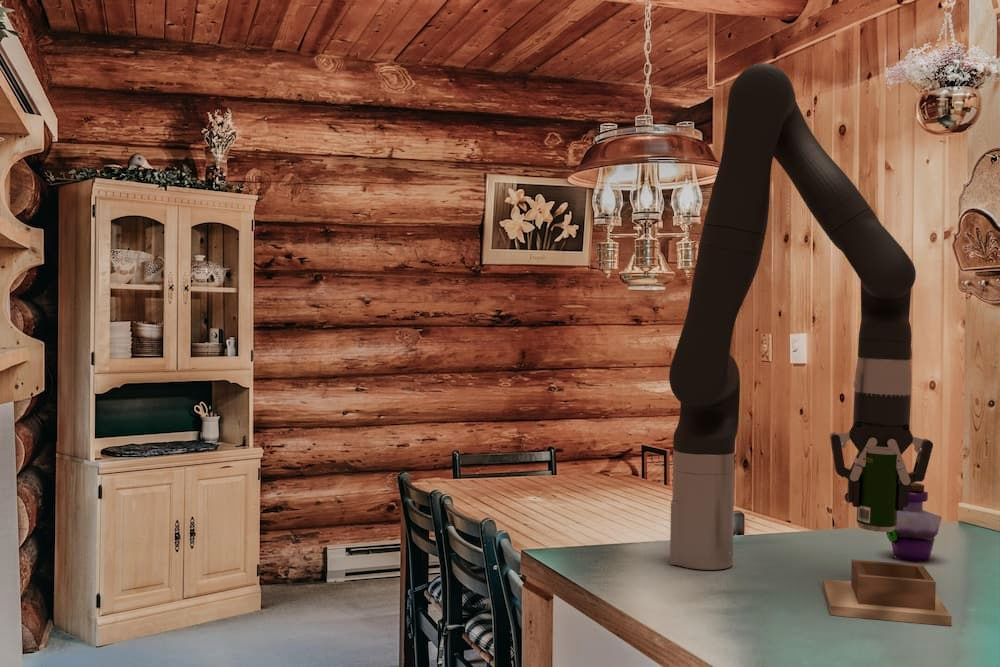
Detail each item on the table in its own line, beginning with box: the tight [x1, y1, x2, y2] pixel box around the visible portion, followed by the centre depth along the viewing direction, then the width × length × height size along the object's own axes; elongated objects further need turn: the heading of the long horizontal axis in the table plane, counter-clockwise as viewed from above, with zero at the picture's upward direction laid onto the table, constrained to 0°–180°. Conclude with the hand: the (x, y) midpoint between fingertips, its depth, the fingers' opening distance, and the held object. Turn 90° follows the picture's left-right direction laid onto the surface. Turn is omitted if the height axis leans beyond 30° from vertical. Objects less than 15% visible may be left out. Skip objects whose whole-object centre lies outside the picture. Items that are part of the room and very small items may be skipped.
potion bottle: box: [885, 482, 942, 564], centre depth 148 cm, size 9×9×12 cm
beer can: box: [856, 446, 899, 533], centre depth 133 cm, size 5×5×12 cm
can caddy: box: [822, 559, 953, 627], centre depth 122 cm, size 14×13×5 cm
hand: (877, 507), depth 134 cm, fingers closed on beer can, 5 cm apart
